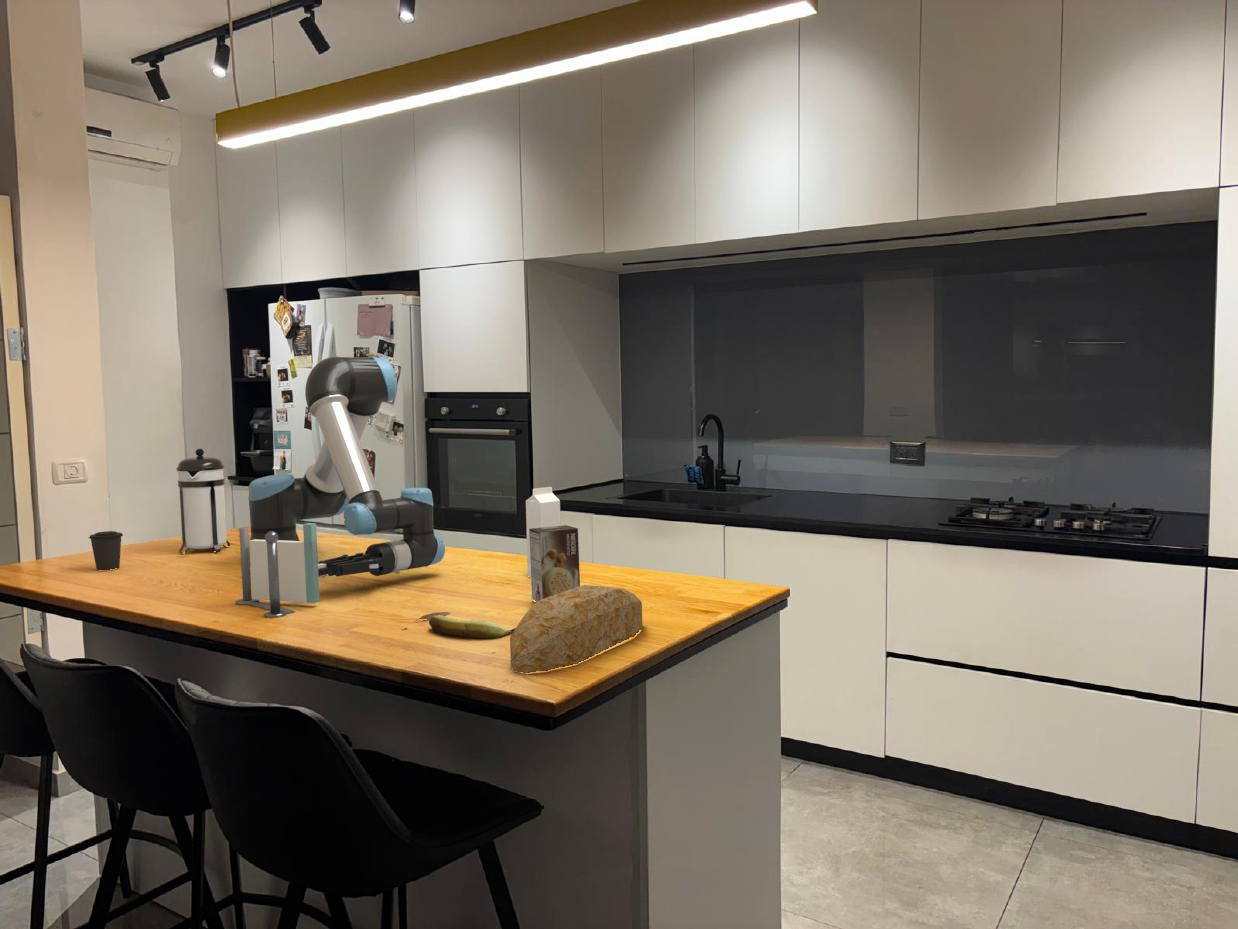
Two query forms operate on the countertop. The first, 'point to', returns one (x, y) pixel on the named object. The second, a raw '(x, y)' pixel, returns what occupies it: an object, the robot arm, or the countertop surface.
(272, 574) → the post
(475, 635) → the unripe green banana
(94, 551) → the coffee cup
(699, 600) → the countertop surface
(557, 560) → the coffee box
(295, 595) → the gate
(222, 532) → the coffee press
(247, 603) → the sill
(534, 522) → the milk
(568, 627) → the bread
